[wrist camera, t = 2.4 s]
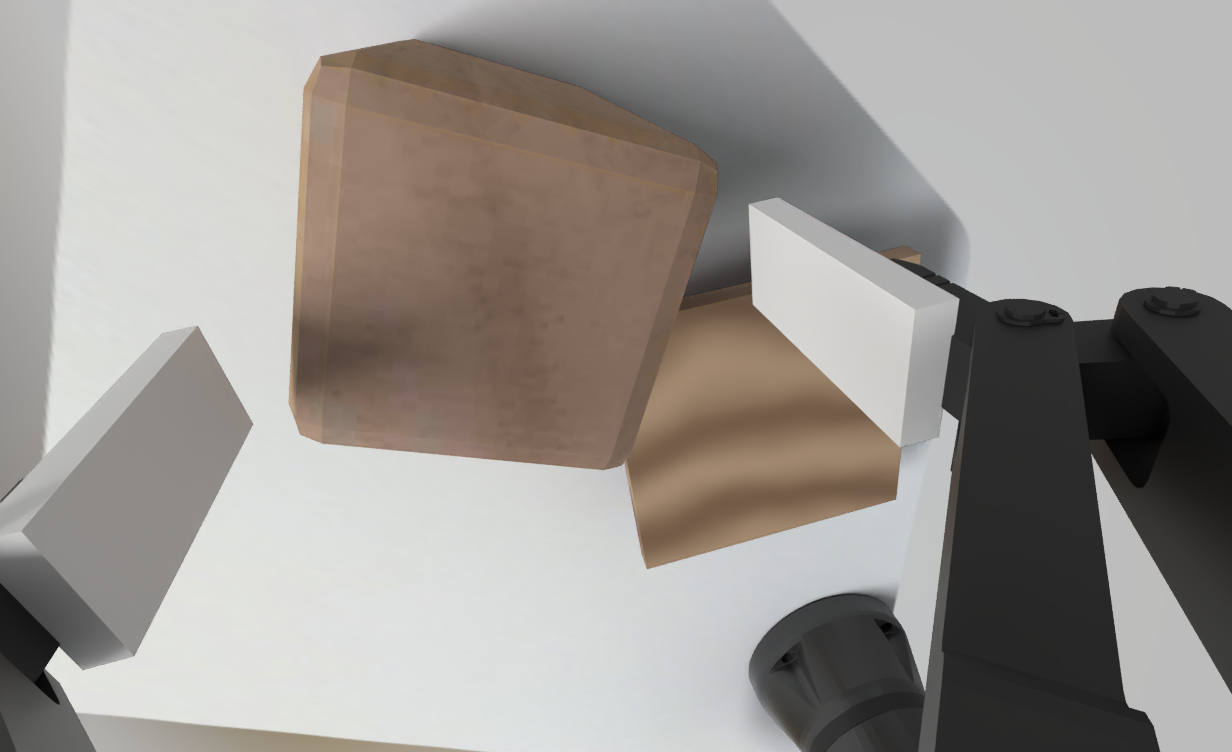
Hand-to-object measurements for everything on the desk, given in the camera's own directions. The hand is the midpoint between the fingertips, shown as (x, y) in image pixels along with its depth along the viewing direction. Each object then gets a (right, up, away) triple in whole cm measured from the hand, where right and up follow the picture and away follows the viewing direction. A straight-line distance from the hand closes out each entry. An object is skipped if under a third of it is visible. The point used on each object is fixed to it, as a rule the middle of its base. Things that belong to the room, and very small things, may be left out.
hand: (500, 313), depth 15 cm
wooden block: (-4, +10, +18) cm, 21 cm away
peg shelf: (+11, -2, +28) cm, 30 cm away
